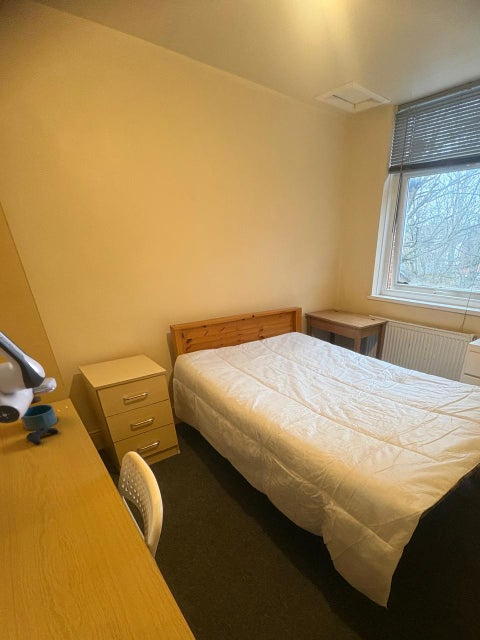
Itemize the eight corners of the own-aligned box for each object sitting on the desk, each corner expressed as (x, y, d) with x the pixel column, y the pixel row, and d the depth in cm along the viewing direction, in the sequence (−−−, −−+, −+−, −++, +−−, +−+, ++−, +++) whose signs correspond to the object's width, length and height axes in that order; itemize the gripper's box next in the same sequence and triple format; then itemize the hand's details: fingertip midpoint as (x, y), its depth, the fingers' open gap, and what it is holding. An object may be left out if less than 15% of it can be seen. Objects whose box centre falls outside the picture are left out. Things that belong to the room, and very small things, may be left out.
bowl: (21, 432, 125) (16, 419, 122) (27, 419, 134) (22, 407, 131) (55, 426, 130) (50, 413, 127) (59, 414, 138) (54, 402, 135)
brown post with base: (23, 405, 123) (8, 368, 116) (26, 399, 127) (12, 364, 120) (40, 402, 125) (26, 366, 118) (42, 397, 129) (29, 362, 122)
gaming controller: (39, 444, 117) (24, 433, 116) (33, 451, 119) (19, 440, 118) (60, 430, 126) (47, 420, 124) (55, 437, 128) (42, 427, 126)
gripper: (50, 382, 115) (56, 369, 126) (-25, 391, 106) (-11, 376, 117) (56, 397, 118) (61, 383, 128) (-17, 408, 109) (-5, 392, 120)
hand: (26, 380), depth 123 cm, fingers closed on brown post with base, 2 cm apart
